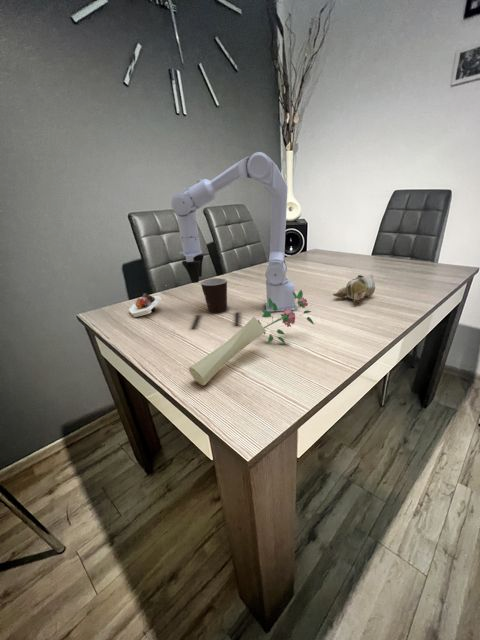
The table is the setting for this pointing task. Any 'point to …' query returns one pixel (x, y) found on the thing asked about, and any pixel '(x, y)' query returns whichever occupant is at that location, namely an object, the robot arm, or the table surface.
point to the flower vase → (242, 341)
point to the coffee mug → (215, 294)
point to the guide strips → (198, 318)
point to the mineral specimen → (144, 305)
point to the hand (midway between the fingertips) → (197, 279)
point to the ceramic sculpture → (358, 288)
